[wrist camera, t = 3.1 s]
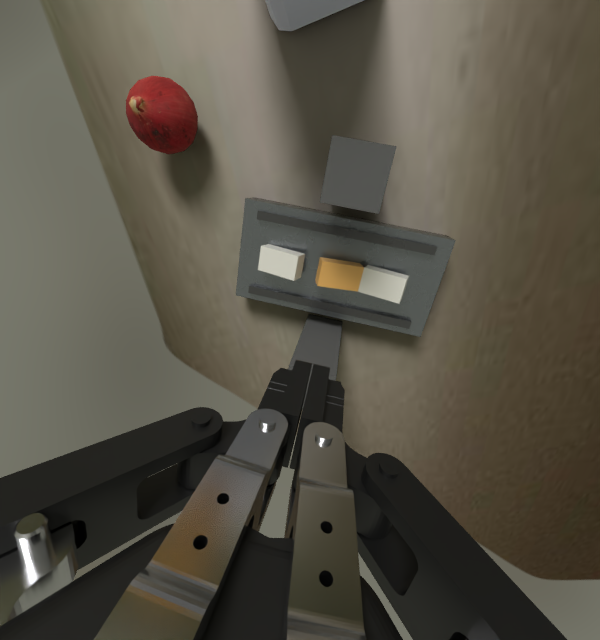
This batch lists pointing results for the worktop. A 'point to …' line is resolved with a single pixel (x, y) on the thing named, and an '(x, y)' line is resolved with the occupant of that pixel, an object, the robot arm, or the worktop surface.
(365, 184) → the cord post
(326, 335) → the cord post
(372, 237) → the breaker panel
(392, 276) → the paddle
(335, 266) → the orange block
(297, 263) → the paddle
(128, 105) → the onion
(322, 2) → the soap bottle
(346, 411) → the worktop surface
